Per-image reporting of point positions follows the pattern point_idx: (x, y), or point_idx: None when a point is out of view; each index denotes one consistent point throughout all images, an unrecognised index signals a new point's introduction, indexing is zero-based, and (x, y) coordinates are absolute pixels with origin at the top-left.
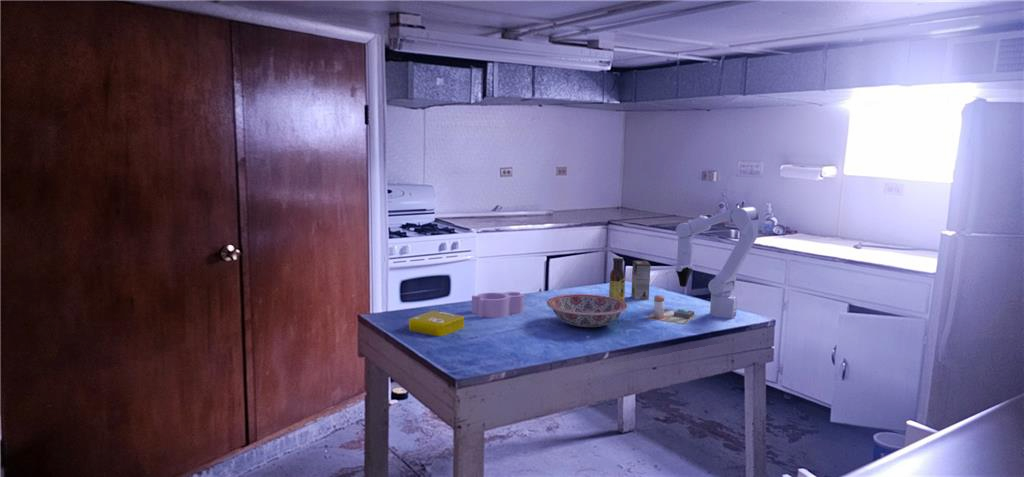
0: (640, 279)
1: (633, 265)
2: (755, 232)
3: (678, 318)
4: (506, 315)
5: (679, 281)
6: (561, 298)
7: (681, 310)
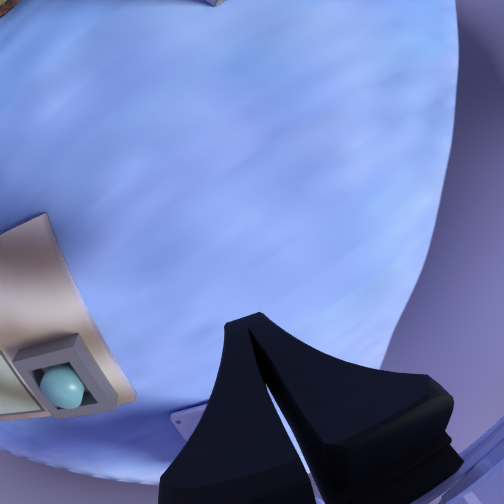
0: None
1: None
2: None
3: (16, 381)
4: None
5: (224, 353)
6: None
7: (44, 387)
